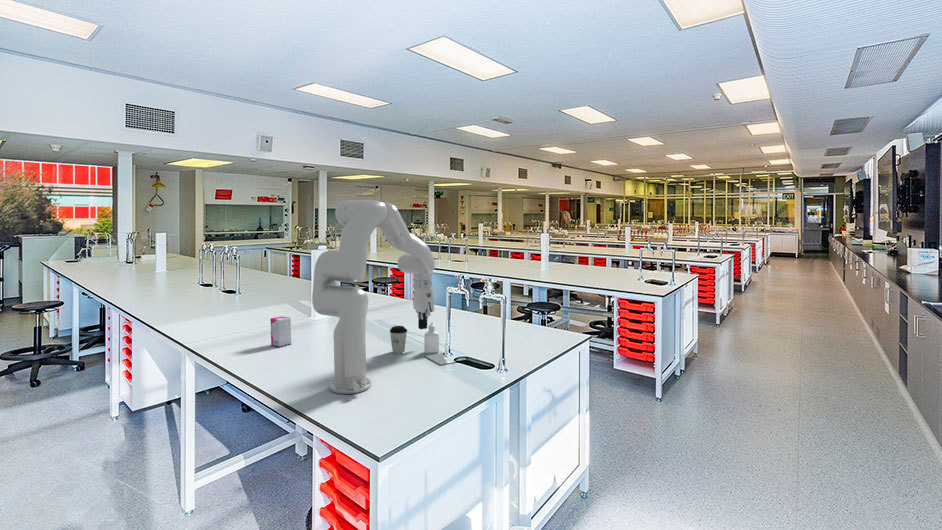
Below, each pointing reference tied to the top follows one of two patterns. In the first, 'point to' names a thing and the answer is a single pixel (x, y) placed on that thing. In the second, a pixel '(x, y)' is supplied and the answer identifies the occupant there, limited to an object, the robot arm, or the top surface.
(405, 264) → the robot arm
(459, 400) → the top surface
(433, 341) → the eye dropper bottle
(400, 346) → the coffee cup
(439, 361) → the mat
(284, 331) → the supplement box
